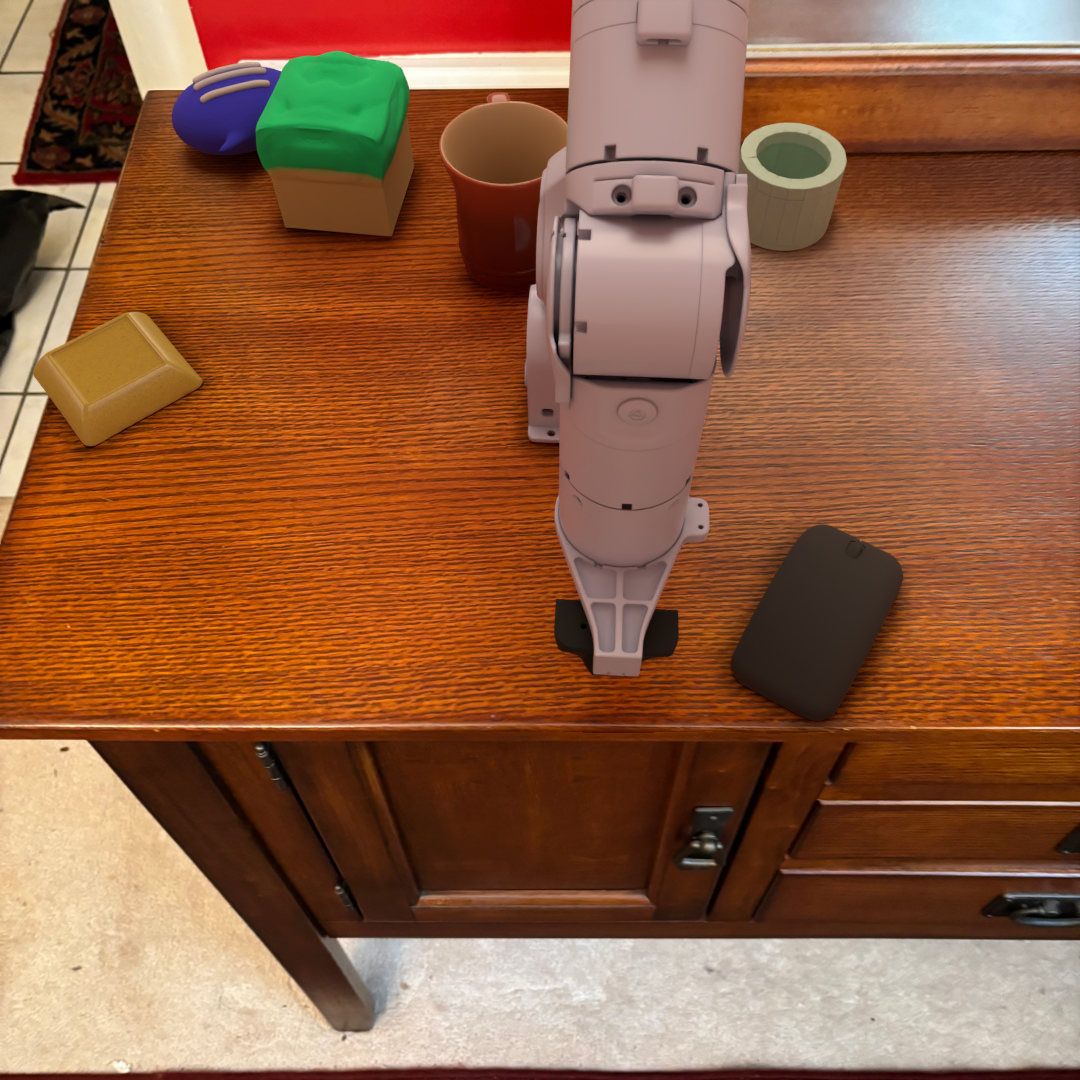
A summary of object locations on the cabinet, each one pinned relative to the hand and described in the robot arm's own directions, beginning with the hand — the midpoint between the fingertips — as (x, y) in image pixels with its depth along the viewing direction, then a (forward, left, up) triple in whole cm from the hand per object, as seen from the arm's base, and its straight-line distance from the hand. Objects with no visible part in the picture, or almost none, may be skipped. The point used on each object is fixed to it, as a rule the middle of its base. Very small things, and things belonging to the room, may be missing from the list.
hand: (611, 607), depth 52 cm
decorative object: (-29, +38, +1) cm, 48 cm away
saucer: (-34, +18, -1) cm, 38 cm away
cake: (-21, +37, -3) cm, 43 cm away
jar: (+12, +36, -3) cm, 38 cm away
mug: (-8, +31, -4) cm, 33 cm away
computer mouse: (+12, +1, -3) cm, 12 cm away
